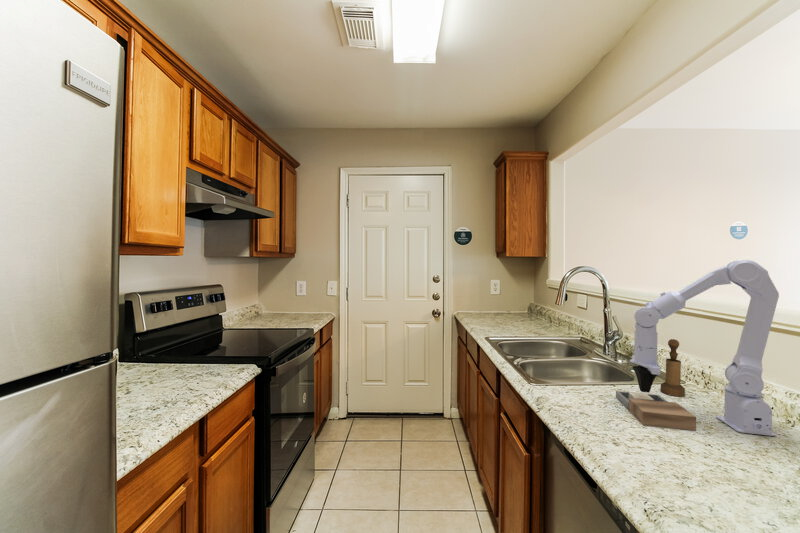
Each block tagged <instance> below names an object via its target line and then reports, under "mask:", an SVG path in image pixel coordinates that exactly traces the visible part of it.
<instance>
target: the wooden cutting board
mask: <svg viewBox="0 0 800 533" xmlns="http://www.w3.org/2000/svg"><path fill="white" fill-rule="evenodd" d="M628 411H629V412H630V413H631V415H632V416H634V418H636V419H637V421H639V423H641V425H643V426H648V425H650V426H649V427H657V426H659V427H658V428H666V427H668V429H676V428H677V429H678V430H685V429H686V431H687V430H688V431H697V416H695V415H694V414H693V413H691V412H690V411H689V410H687V409H686V408H685V407H683V406H681V405H680V404H679V403H677V402H674V401H668V402H664V401H654V400H643V399H632V398H629V409H628ZM677 429H676V430H677Z"/></svg>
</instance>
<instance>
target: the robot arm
mask: <svg viewBox="0 0 800 533" xmlns="http://www.w3.org/2000/svg"><path fill="white" fill-rule="evenodd" d="M731 284H735V285H737V286H738V287H740V288H741V289H742V290H743V291H744V292H745V293H746V294H747V295H748V296H749V298H750V300H749V303H748V308H747V310H746V314H745V315H746V316H745V320H744V323H743V327H742V331H741V335H740V338H739V343H738V347H737V350H736V353H735V355H734V356H733V358H732V361H731V363H730V364H729V365H727V367H725V370H724V376H725V378H726V380H727V381H728V384H726V385H725V386H724V407H723V408H724V409H723V410H724V412H723V413H724V415H716V416H715V418H717V419H718V420H720V421H721V422H723V423H724V424H726V425H727V426H728V427H730V428H732V429H733V430H735V431H736V432H738V433H744V434H751V435H752V434H753V435H761V436H762V435H764V436H770V437H771V436H772V437H776V436H777V434H776V433H775V432H773V410H772V407H771V406H770V405H769V404H768V403H767V402H766V401H765V400H764V398H763V393H762V392H763V390H764V388H765V384H764V380H763V377H762V375H763V374H762V373H763V362H762V361H763V357H764V354H765V350H766V347H767V343H768V338H769V335H770V332H771V326H772V323H773V320H774V316H775V312H776V308H777V304H778V301H779V297H780V295H779V291H778V289H777V287H776V286H775V284H774V282H773V280H772V279H771V277H770V274H769V271H768V270H767V269H765V268H764V267H763V266H762V265H761V264H759V263H757V262H756V261H754V260H751V259H750V260H749V259H748V260H747V259H742V260H734V261H731V262H729V263H728V264H727V265H723V266H720V267H718V268H716V269H714V270H712V271H709V272H708V273H706V274H705V275H703V276H701V277H700V278H698V279H696V280H695V281H693V282H691V283H690V284H687V285H686V286H685V287H683V288H682V289H680V290H678V291H674V290H673V291H672V290H669V291H667V292H665V291H663V292H660V294H659V295H660V296H659V297H657V298H655V299H653V300H651V302H650V301H647V302H645V304H644V305H645V306H641V307H639V308H638V309H637V310H636V311H635V314H634V320H635V324H634V329H635V330H634V337H633V338H634V340H633V341H634V345H633V346H634V347H633V348H634V349H633V352H634V353H633V354H632V355H631V359H629V363H631V364H636V365H637V366H636V365H633V366H632V369H633V372H634V373H635V377H636V379H637V384H638V388H639V390H640V391H641V392H640V393H647V394H650V393H651V390H652V386H653V384H654V381H655V379H656V378H657V376H660V375H661V367H659V362H658V334H659V333H658V332H657V324H658V323H659V321H660V320H665V319H666V318H668V317H670V316H672V315H674V314H675V313H677V312H679V311H680V310H682V309H684V308H685V307H686V302H687V301H688V300H690V299H692V298H694V297H696V296H698V295H700V294H701V293H704V292H705V291H707V290H709V289H712V288H714V287H715V286H722V285H724V286H725V285H731Z"/></svg>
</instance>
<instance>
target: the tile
mask: <svg viewBox="0 0 800 533" xmlns="http://www.w3.org/2000/svg"><path fill="white" fill-rule="evenodd" d="M628 392H629V391H628ZM630 392H631V391H630ZM630 392H629V398H632V399H643V400H654V399H652V398H651V397H650V396H649V395H647V394H648V393H644V394H641V393H642V392H633V393H630Z"/></svg>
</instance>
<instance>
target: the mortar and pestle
mask: <svg viewBox="0 0 800 533" xmlns="http://www.w3.org/2000/svg"><path fill="white" fill-rule="evenodd" d="M667 345H668V347H669V349H670V351H669V353H668V354H669V356H670V357H669V358H666V359H665V381H664V382H662V383H661V384H660V392H661V393H663V394H665V395H668V396H673V397H678V398H679V397H680V398H683V397H685V395H686V388H685V387H684V386H683V385H682V384H681V372H682V368H681V367H682V361H681V360H680V359H678V355H679V353H678V352H677V349H678V348H679V347H680V342H679V341H678V339H674V338H673V339H672V338H671V339H669V340H668V341H667Z"/></svg>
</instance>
